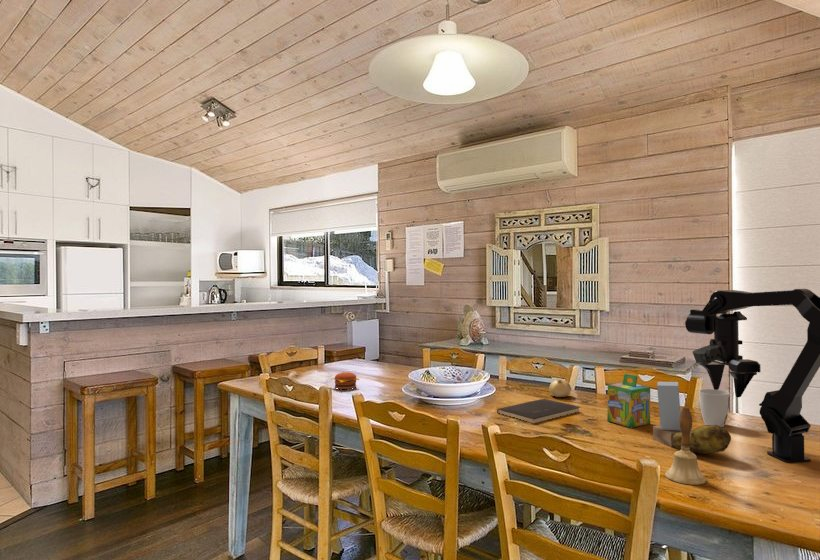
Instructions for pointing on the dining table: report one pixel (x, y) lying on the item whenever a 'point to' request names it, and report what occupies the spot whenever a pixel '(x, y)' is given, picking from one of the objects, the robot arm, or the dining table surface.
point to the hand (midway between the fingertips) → (726, 393)
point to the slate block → (669, 405)
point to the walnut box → (664, 435)
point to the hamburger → (345, 380)
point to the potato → (705, 439)
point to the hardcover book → (538, 410)
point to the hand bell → (685, 456)
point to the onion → (560, 388)
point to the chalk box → (628, 403)
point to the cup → (714, 406)
